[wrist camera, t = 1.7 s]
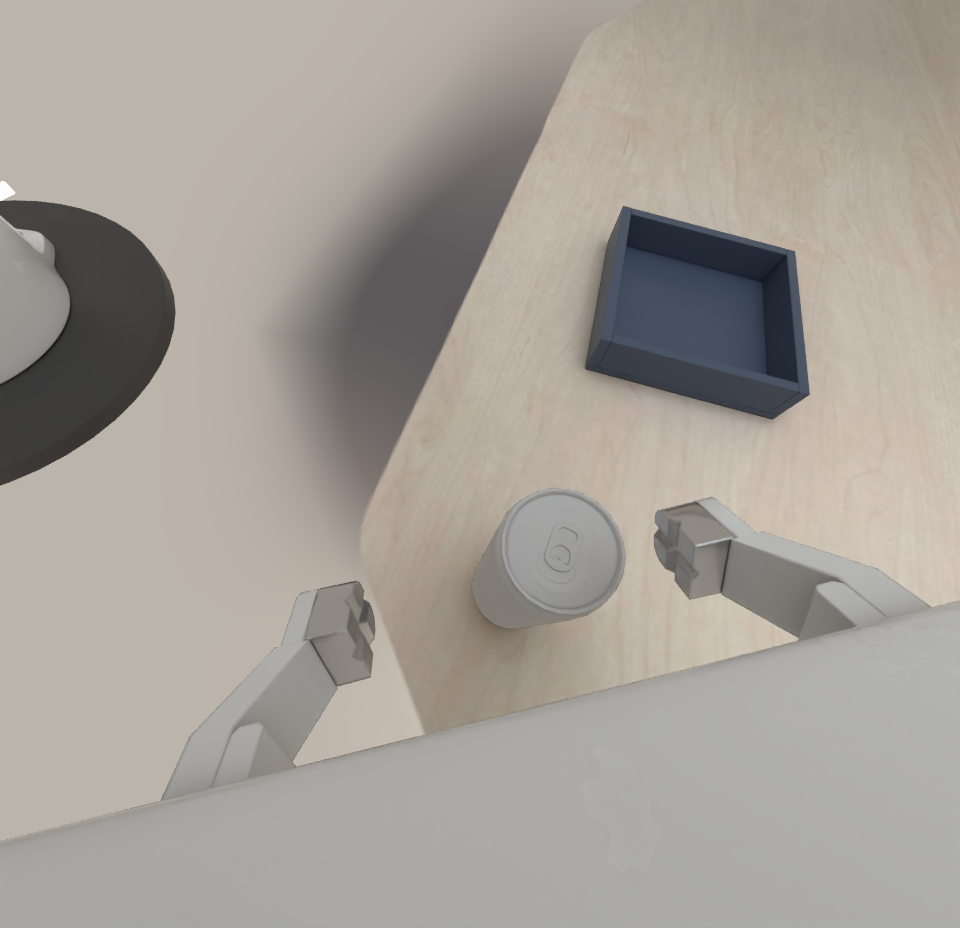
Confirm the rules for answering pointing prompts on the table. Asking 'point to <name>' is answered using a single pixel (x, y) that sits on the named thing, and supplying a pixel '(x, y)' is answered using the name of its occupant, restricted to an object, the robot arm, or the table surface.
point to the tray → (700, 315)
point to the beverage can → (549, 561)
